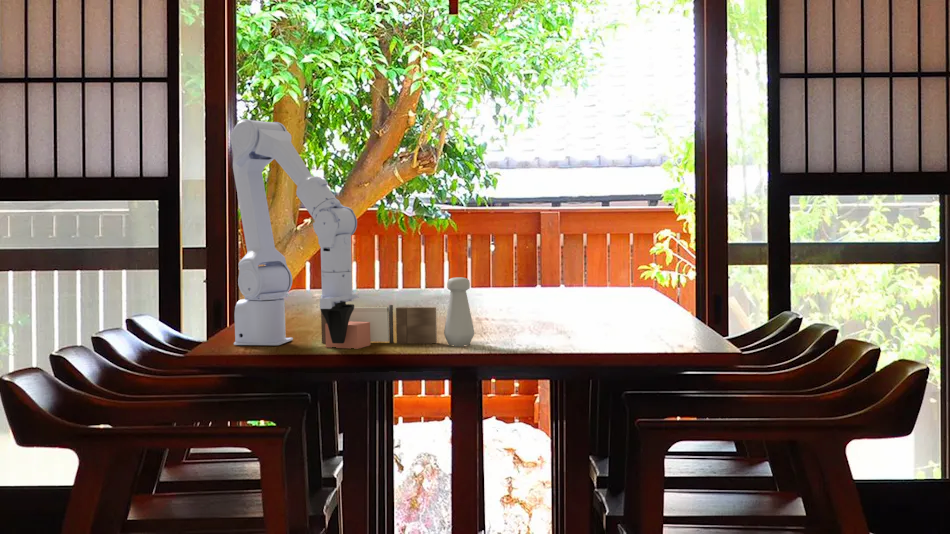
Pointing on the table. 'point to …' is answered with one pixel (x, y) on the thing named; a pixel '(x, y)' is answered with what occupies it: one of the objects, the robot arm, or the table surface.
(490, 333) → the table surface
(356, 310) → the door
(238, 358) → the table surface
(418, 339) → the frame
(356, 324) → the block
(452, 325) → the salt shaker
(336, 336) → the robot arm
